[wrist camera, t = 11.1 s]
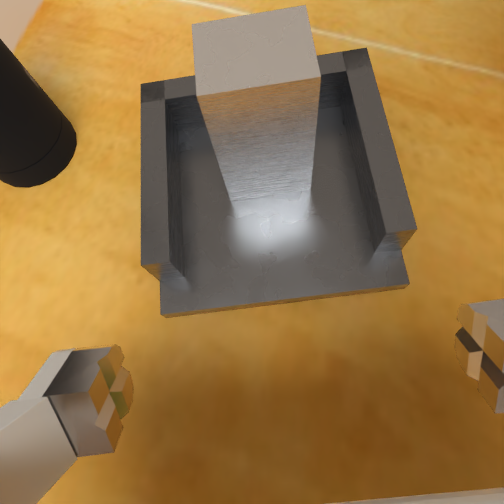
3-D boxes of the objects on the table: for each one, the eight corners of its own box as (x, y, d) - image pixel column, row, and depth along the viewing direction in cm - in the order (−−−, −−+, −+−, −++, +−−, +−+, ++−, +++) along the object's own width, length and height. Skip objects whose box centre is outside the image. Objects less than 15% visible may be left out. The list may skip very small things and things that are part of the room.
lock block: (310, 189, 23) (320, 76, 15) (230, 200, 24) (196, 96, 15) (300, 133, 25) (305, 2, 16) (225, 145, 25) (191, 21, 17)
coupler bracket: (404, 288, 22) (427, 267, 18) (166, 317, 23) (141, 303, 19) (356, 95, 27) (366, 47, 23) (161, 125, 27) (140, 83, 24)
